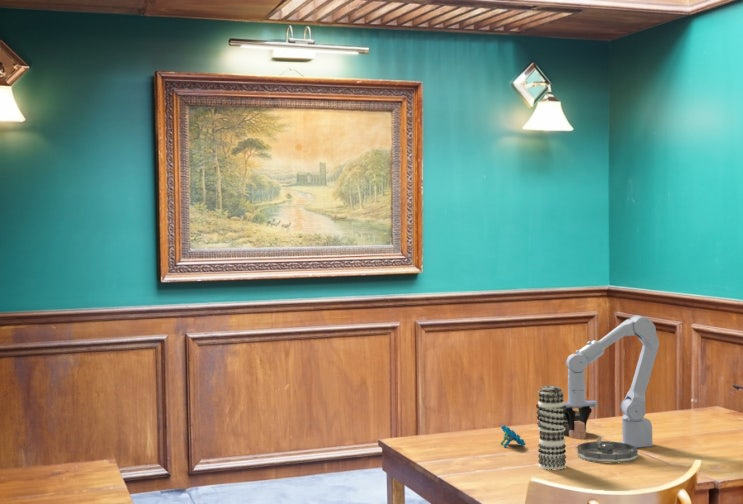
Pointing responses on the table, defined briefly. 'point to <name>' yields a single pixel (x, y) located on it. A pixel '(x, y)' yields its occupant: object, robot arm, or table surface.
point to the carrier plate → (616, 451)
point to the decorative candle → (551, 428)
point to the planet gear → (578, 430)
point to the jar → (566, 432)
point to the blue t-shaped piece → (511, 437)
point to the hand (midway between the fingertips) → (577, 429)
